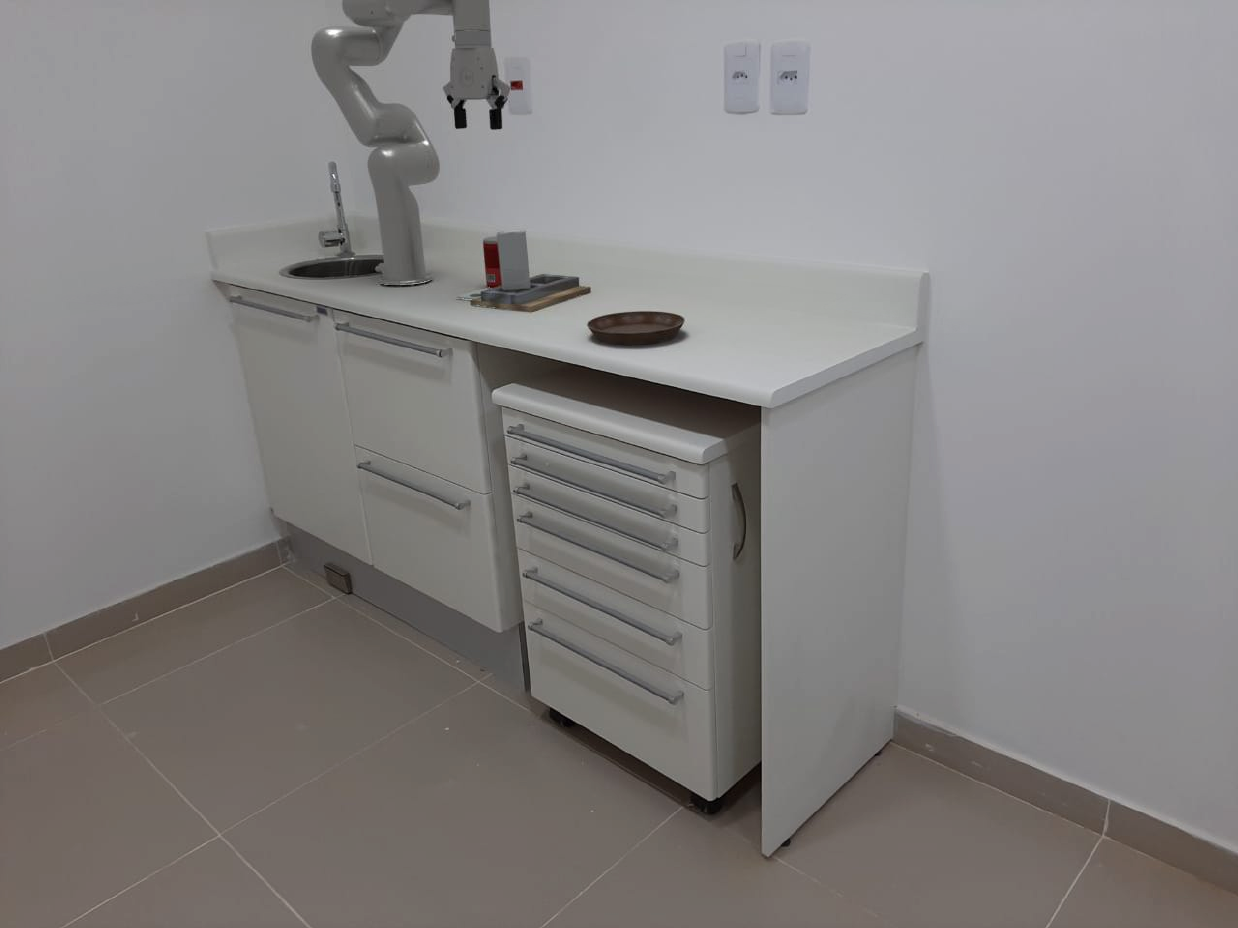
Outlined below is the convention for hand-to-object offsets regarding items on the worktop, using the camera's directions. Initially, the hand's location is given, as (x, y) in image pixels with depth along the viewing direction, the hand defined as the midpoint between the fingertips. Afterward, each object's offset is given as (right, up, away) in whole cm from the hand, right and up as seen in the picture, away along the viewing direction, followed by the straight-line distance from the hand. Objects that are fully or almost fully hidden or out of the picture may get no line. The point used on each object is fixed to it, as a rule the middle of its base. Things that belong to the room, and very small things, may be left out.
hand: (478, 129), depth 205 cm
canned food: (+3, -30, +20) cm, 36 cm away
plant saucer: (+33, -48, -29) cm, 65 cm away
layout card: (0, -34, +10) cm, 35 cm away
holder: (+11, -35, +5) cm, 37 cm away
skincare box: (+8, -34, 0) cm, 35 cm away
